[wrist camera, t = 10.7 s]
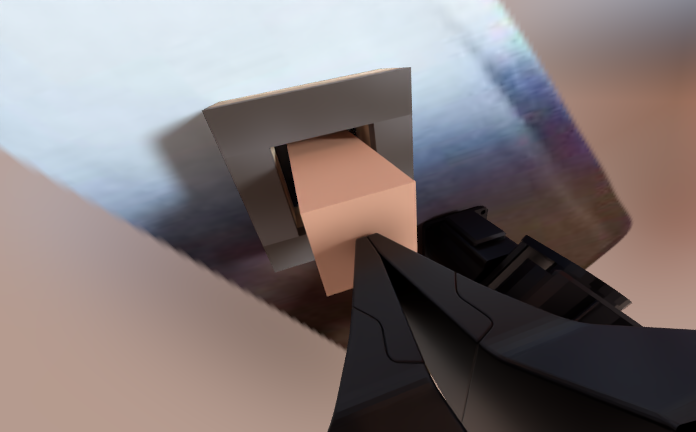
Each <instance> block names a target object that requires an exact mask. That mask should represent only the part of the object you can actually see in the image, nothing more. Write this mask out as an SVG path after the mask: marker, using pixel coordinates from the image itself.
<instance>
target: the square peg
mask: <svg viewBox="0 0 696 432" xmlns="http://www.w3.org/2000/svg"><path fill="white" fill-rule="evenodd" d="M287 148H288V153H289V158H290V163H291V168H292V174H293V179H294V184H295V189H296V194H297V199H298V204H299V209H300V214H301V217H302V220H303V223H304V227H305V230H306V233H307V236H308V239H309V242H310V245H311V248H312V251H313V254H314V257H315V261H316V264H317V267H318V270H319V273H320V276H321V279H322V282H323V285H324V288H325V291H326V295H327V296H330V295H333V294H336V293H339V292H342V291H345V290H348V289H351V288H353V278H354V260H355V241H356V239H357V238H361V237H364V236H366V237H367V236H368V235H371V234H374V233H379V234H381V235H383V236H385V237H387V238H389V239H391V240H393V241H395V242H397V243H399V244H401V245H403V246H405V247H407V248H409V249H411V250H413V251H415V252H417V222H416V182H415V181H414V180H413V179H411V178H410V177H409V176H407V175H406V174H405V173H403V172H402V171H401V170H399V169H398V168H397V167H396V166H394V165H393V164H392V163H390V162H389V161H388V160H386V159H385V158H384V157H382V156H381V155H380V154H378V153H377V152H376V151H374V150H373V149H372V148H370V147H369V146H368V145H366V144H365V143H364V142H362V141H361V140H360V139H358V138H357V137H356V136H354V135H353V134H352V133H350V132H349V131H348V130H343V131H338V132H334V133H330V134H326V135H321V136H317V137H313V138H309V139H304V140H300V141H296V142H292V143H287Z"/></svg>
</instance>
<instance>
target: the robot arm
mask: <svg viewBox="0 0 696 432" xmlns="http://www.w3.org/2000/svg"><path fill="white" fill-rule="evenodd" d="M487 212H488V209H487V208H486V207H484V206H479V207H476V208H472V209H469V210H466V211H462V212H459V213H456V214H452V215H449V216H446V217H442V218H439V219H436V220H433V221H429V222H427V223H425V224H424V226H423V255H421V254H419V253H417V252H415V251H413V250H411V249H409V248H407V247H405V246H403V245H401V244H399V243H397V242H395V241H393V240H391V239H389V238H387V237H385V236H383V235H381V234H379V233H374V234H371V235H368V236H367V237H366V236H364V237H361V238H357V239H356V241H355V260H354V278H353V296H352V311H351V325H350V335H349V341H348V347H347V353H346V358H345V363H344V367H343V372H342V377H341V382H340V387H339V392H338V396H337V401H336V405H335V409H334V413H333V417H332V420H331V423H330V426H329V429H328V432H696V330H688V329H670V328H653V327H643V326H641V325H640V324H638V323H637V322H636V321H634V320H633V319H631V318H630V317H629V316H627V315H626V314H624V313H623V312H621V310H622V309H625V308H626V307H628V306H629V305H630V304H631V303H632V302H631V301H630V300H629V299H627V298H626V297H625V296H623V295H622V294H620V293H619V292H618V291H616V290H615V289H613V288H612V287H610V286H609V285H607V284H606V283H604V282H603V281H601V280H600V279H598V278H597V277H595V276H594V275H592V274H591V273H589V272H588V271H586V270H584V269H583V268H581V267H580V266H578V265H576V264H575V263H573V262H571V261H570V260H568V259H566V258H565V257H563V256H561V255H560V254H558V253H556V252H555V251H553V250H551V249H550V248H548V247H546V246H544V245H543V244H541V243H539V242H538V241H536V240H534V239H533V238H531V237H529V236H528V235H526V236H525V237H524V238H523V239H522V240H521V241H522V242H521V243H520V244H519V245H518V244H516V243H515V242H513V241H512V240H510V239H509V238H508V237H506V233H505V232H504V231H503V230H501V229H500V228H498V227H497V226H495V225H494V224H492V223H491V222H489V221H488V220H486V219H487ZM428 227H429V228H428ZM425 364H426V365H425ZM428 369H429V371H430V373H431V375H432V376H433V378H434V380H435V382H436V383H437V385H438V387H439V389H440V390H441V392H442V394H443V396H444V397H445V399H446V400H445V399H444V397H443V396H442V394H441V393H440V391H439V390H438V389H437V387H436V385H435V383H434V381H433V379H432V377H431V375H430V373H429V371H428Z"/></svg>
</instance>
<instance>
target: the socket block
mask: <svg viewBox="0 0 696 432" xmlns="http://www.w3.org/2000/svg"><path fill="white" fill-rule="evenodd" d="M202 112H203V114H204V116H205V118H206V121H207V123H208V125H209V127H210V130H211V132H212V134H213V136H214V138H215V141H216V143H217V145H218V147H219V150H220V152H221V154H222V156H223V158H224V161H225V163H226V165H227V167H228V170H229V172H230V174H231V176H232V178H233V181H234V183H235V185H236V187H237V189H238V192H239V194H240V196H241V198H242V201H243V203H244V205H245V207H246V209H247V212H248V214H249V216H250V218H251V221H252V223H253V225H254V227H255V229H256V232H257V234H258V236H259V238H260V241H261V243H262V245H263V247H264V249H265V252H266V254H267V256H268V258H269V261H270V263H271V265H272V267H273V269H274V272H278V271H281V270H284V269H287V268H291V267H294V266H297V265H301V264H304V263H307V262H310V261H314V260H315V257H314V254H313V251H312V248H311V245H310V242H309V239H308V236H307V233H306V230H305V227H304V223H303V220H302V217H301V214H300V209H299V206H296V207H294V205H293V202H292V199H291V196H290V193H289V190H288V187H287V184H286V181H285V178H284V175H283V172H282V169H281V166H280V163H279V160H278V157H277V154H276V151H275V148H274V147H275V146H279V145H283V144H287V143H292V142H296V141H300V140H304V139H309V138H313V137H317V136H321V135H326V134H330V133H334V132H338V131H343V130H347V129H351V128H355V129H356V136H357V138H358V139H360V140H361V141H362V142H364V143H365V144H366V145H368V146H369V147H370V148H372V149H373V150H374V151H376V152H377V153H378V154H380V155H381V156H382V157H384V158H385V159H386V160H388V161H389V162H390V163H392V164H393V165H394V166H396V167H397V168H398V169H399V170H401V171H402V172H403V173H405V174H406V175H407V176H409V177H410V178H411V179H413V180H414V177H413V136H412V94H411V67H407V68H386V69H377V70H373V71H368V72H363V73H358V74H353V75H348V76H343V77H338V78H333V79H329V80H324V81H319V82H314V83H309V84H304V85H299V86H294V87H290V88H285V89H280V90H275V91H270V92H265V93H260V94H255V95H251V96H246V97H241V98H236V99H231V100H226V101H221V102H218V103H216V104H214V105H212V106H210V107H208V108H206V109H204V110H202Z"/></svg>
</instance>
